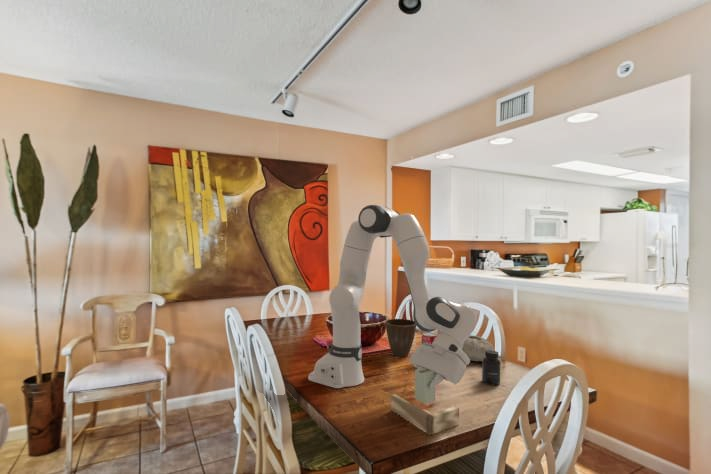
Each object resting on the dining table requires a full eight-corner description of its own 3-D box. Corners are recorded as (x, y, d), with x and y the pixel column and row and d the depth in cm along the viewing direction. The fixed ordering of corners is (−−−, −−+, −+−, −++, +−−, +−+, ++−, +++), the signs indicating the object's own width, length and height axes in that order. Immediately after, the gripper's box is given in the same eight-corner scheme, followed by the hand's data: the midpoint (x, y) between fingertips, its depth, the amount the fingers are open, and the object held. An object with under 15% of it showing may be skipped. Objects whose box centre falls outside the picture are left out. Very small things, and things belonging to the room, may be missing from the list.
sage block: (425, 395, 120) (425, 367, 120) (435, 400, 116) (435, 371, 116) (414, 398, 118) (414, 369, 118) (424, 404, 114) (424, 374, 114)
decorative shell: (502, 360, 172) (502, 339, 172) (478, 368, 162) (478, 345, 162) (470, 350, 186) (470, 331, 186) (446, 357, 176) (446, 336, 176)
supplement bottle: (491, 387, 141) (491, 355, 141) (478, 380, 147) (478, 350, 147) (504, 383, 144) (504, 353, 144) (490, 377, 150) (490, 348, 150)
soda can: (437, 365, 164) (438, 336, 164) (421, 364, 165) (421, 335, 165) (437, 360, 171) (437, 332, 171) (421, 359, 172) (421, 331, 172)
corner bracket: (419, 401, 128) (419, 387, 128) (459, 424, 112) (459, 407, 112) (391, 410, 121) (391, 395, 121) (429, 435, 106) (429, 417, 106)
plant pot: (416, 351, 185) (416, 319, 185) (416, 361, 170) (416, 326, 170) (386, 349, 187) (386, 318, 187) (383, 359, 173) (383, 324, 173)
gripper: (419, 335, 129) (397, 369, 124) (464, 350, 112) (441, 390, 107) (428, 346, 132) (407, 379, 127) (474, 362, 114) (452, 401, 109)
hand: (423, 384), depth 117 cm, fingers closed on sage block, 4 cm apart
